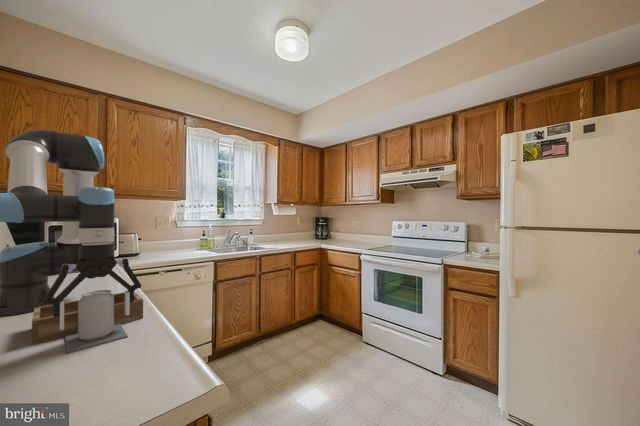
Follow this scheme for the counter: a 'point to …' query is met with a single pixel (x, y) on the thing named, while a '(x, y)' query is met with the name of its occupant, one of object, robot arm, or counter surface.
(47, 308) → the box frame
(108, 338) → the mat
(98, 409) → the counter surface
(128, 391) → the counter surface
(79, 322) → the can
